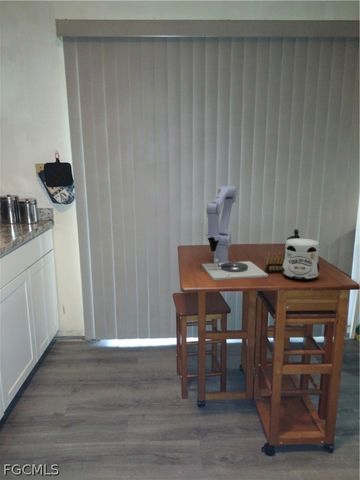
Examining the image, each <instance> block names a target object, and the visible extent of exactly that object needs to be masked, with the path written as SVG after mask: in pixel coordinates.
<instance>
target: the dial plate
mask: <svg viewBox="0 0 360 480" xmlns="http://www.w3.org/2000/svg"><path fill="white" fill-rule="evenodd" d="M238 262H239V263H244V264H246V265H248V270H246V271H243V272H228V271H224V270H222V269H221V267H217V268H216V267H214V262H213V263H201V266H202V268H203V269H204V271H205V272H206V273H207V274H208V275H209V277H210V278H211V279H212V281H219V280H222V281H223V280H225V281H226V280H236V279H254V278H267V277H269V274H268V273H267V272H265V270H263V269H261V267H258V265H256V264H254V263H253V262H252V261H251V260H250V261H247V260H245V261H238ZM222 264H224V263H219V265H222Z"/></svg>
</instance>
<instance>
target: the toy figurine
mask: <svg viewBox="0 0 360 480" xmlns="http://www.w3.org/2000/svg"><path fill="white" fill-rule="evenodd" d="M293 234H294V235H291V236H289V237H288V238H286V240H285V243H284V245H286V241H287V240H288V239H296V238H301V237H300V235H299V229H297V228H295V229H294V230H293Z"/></svg>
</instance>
